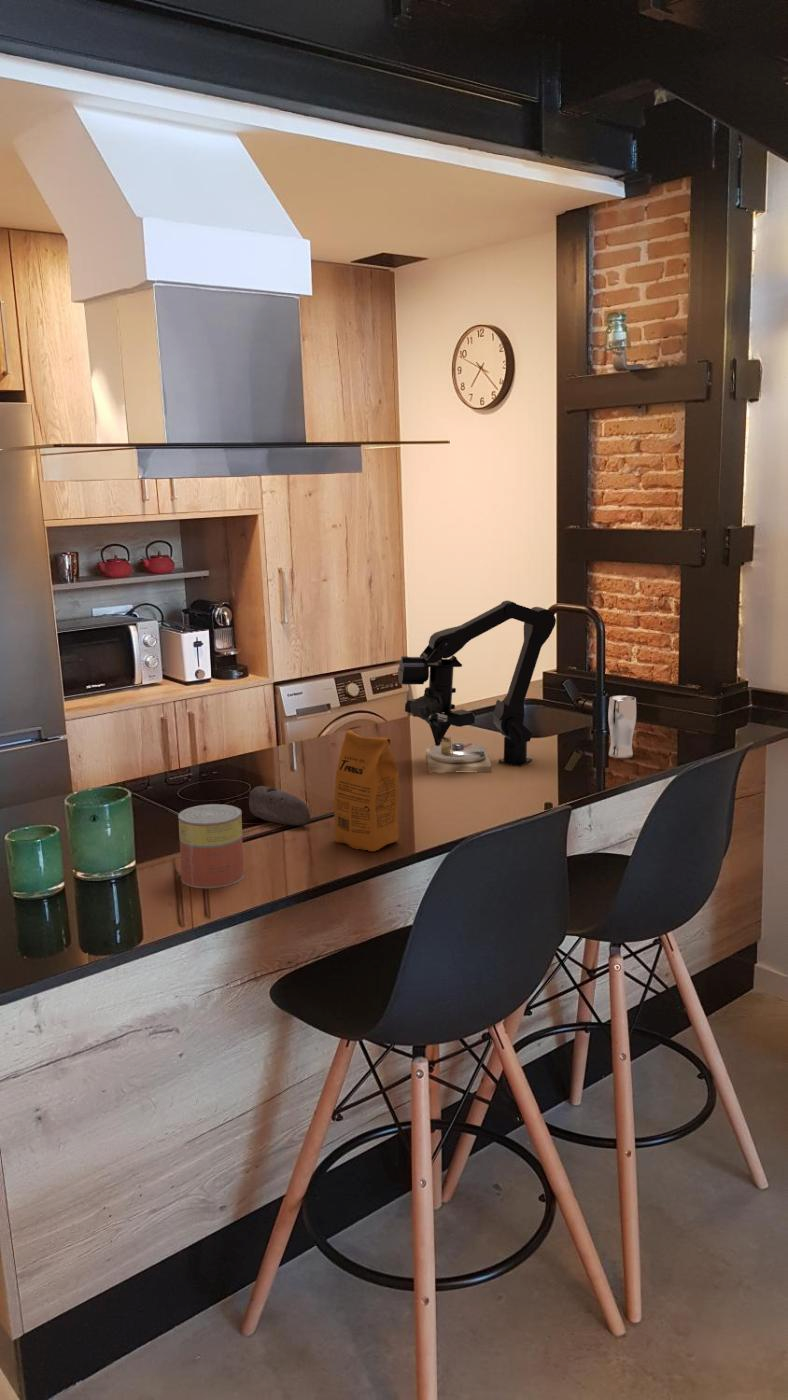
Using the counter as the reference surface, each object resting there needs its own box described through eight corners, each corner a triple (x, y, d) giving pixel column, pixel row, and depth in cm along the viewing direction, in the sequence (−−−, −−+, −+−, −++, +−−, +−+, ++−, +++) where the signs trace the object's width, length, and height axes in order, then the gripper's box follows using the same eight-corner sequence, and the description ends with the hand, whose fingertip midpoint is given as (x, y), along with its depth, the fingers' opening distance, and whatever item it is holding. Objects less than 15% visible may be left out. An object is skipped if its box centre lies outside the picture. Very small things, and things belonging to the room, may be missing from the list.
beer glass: (605, 757, 274) (607, 700, 271) (608, 751, 280) (610, 694, 277) (633, 759, 272) (635, 701, 269) (635, 752, 278) (638, 696, 275)
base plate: (484, 753, 279) (484, 747, 279) (491, 772, 262) (491, 766, 261) (426, 754, 279) (426, 748, 279) (429, 773, 262) (429, 767, 261)
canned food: (247, 865, 201) (244, 803, 199) (240, 887, 190) (238, 822, 187) (186, 866, 201) (183, 804, 198) (176, 889, 190) (173, 824, 187)
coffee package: (361, 829, 221) (359, 724, 216) (406, 842, 212) (405, 734, 208) (326, 841, 214) (323, 733, 209) (370, 856, 205) (369, 743, 201)
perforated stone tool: (317, 826, 223) (316, 793, 222) (300, 832, 219) (300, 800, 218) (264, 813, 232) (263, 782, 230) (247, 819, 228) (245, 788, 226)
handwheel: (448, 746, 280) (448, 724, 278) (496, 753, 272) (496, 731, 271) (419, 758, 268) (418, 735, 267) (467, 766, 260) (467, 742, 259)
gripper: (390, 681, 264) (387, 742, 267) (446, 696, 251) (443, 760, 254) (422, 675, 271) (419, 735, 275) (478, 689, 258) (474, 752, 262)
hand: (437, 745), depth 266 cm, fingers closed
